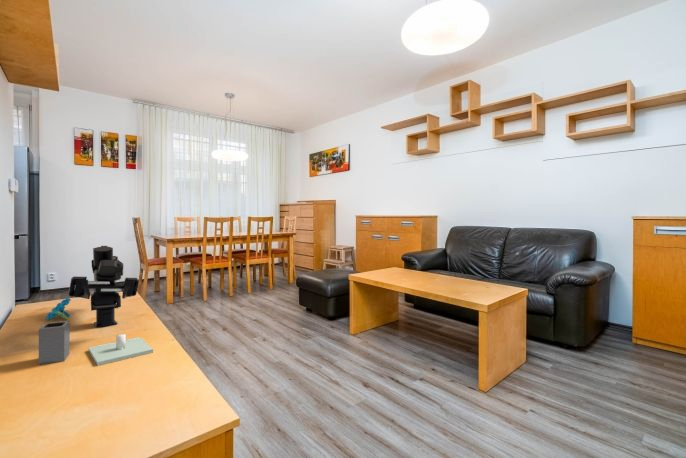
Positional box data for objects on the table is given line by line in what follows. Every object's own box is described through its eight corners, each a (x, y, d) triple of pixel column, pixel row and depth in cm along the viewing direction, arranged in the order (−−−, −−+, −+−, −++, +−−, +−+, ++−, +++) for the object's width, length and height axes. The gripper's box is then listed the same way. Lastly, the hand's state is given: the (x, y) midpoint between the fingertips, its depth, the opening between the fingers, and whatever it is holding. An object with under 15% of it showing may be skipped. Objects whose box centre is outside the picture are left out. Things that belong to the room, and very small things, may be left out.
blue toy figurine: (45, 312, 134) (68, 293, 138) (58, 320, 137) (80, 301, 141) (42, 323, 126) (66, 302, 129) (57, 331, 129) (80, 311, 132)
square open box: (45, 356, 97) (45, 323, 97) (69, 353, 100) (69, 320, 99) (38, 364, 92) (38, 329, 92) (64, 361, 95) (64, 326, 94)
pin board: (88, 350, 102) (88, 334, 102) (139, 339, 112) (140, 325, 112) (97, 365, 93) (97, 348, 92) (153, 352, 103) (153, 336, 102)
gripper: (74, 255, 111) (73, 272, 99) (138, 258, 123) (145, 274, 111) (68, 285, 112) (67, 307, 100) (133, 286, 124) (138, 305, 112)
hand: (106, 297), depth 106 cm, fingers open, 9 cm apart
